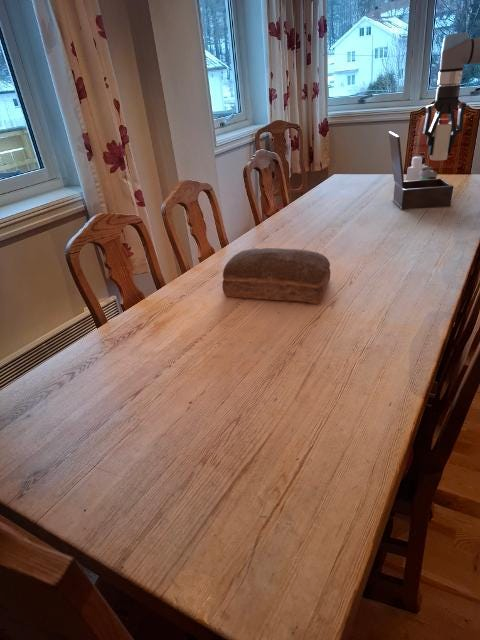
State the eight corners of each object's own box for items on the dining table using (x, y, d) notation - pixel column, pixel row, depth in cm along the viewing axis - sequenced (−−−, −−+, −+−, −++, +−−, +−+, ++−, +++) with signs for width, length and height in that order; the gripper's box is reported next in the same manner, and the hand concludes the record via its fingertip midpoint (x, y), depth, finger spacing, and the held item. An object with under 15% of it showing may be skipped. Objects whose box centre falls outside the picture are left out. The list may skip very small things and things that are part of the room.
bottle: (443, 156, 167) (449, 117, 160) (449, 159, 162) (455, 119, 155) (427, 158, 168) (432, 118, 160) (432, 161, 162) (438, 120, 155)
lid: (390, 131, 176) (388, 132, 176) (399, 136, 164) (397, 136, 164) (396, 180, 186) (394, 181, 186) (404, 188, 174) (402, 188, 174)
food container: (415, 188, 204) (418, 166, 199) (429, 188, 202) (432, 166, 197) (419, 195, 193) (422, 172, 188) (434, 195, 192) (437, 172, 187)
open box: (438, 197, 188) (441, 178, 184) (450, 206, 177) (453, 186, 172) (393, 200, 190) (394, 181, 186) (401, 209, 178) (403, 189, 174)
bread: (322, 306, 114) (322, 267, 108) (220, 297, 124) (215, 261, 118) (332, 279, 128) (333, 243, 122) (239, 273, 137) (236, 239, 132)
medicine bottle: (412, 179, 219) (415, 154, 213) (426, 180, 214) (429, 155, 208) (405, 182, 215) (408, 157, 209) (419, 183, 210) (422, 158, 204)
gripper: (472, 82, 154) (461, 150, 166) (418, 87, 156) (410, 154, 168) (481, 82, 148) (469, 153, 160) (424, 88, 150) (416, 157, 162)
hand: (439, 153), depth 164 cm, fingers closed on bottle, 6 cm apart
